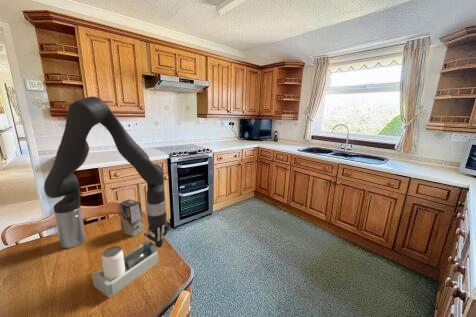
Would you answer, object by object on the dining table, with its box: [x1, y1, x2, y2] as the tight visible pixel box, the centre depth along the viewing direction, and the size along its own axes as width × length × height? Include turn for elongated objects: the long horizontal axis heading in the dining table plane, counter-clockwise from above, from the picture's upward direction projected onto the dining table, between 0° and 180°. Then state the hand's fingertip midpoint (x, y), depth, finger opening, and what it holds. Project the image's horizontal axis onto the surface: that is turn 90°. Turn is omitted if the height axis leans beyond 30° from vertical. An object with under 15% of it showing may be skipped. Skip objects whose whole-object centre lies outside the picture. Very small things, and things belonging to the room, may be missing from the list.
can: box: [101, 245, 125, 282], centre depth 73 cm, size 6×6×12 cm
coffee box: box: [118, 199, 144, 237], centre depth 104 cm, size 9×6×16 cm
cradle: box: [91, 244, 160, 299], centre depth 78 cm, size 10×20×5 cm, turn 150°
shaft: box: [125, 240, 156, 270], centre depth 82 cm, size 5×10×6 cm, turn 150°
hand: (159, 246), depth 90 cm, fingers closed
